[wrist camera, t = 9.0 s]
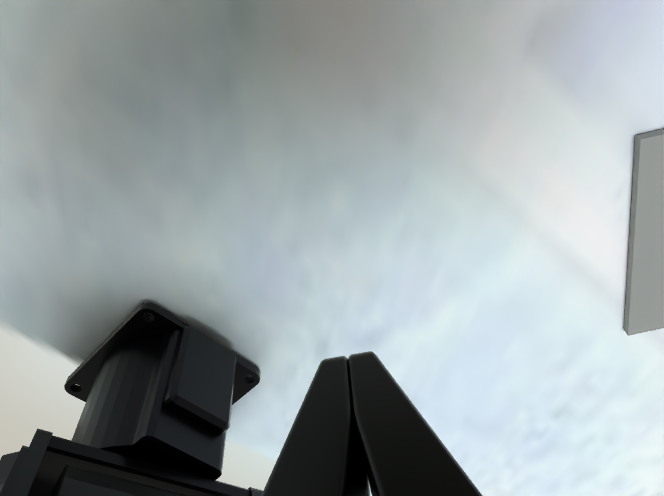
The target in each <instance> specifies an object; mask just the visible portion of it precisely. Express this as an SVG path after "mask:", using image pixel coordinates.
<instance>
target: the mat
mask: <svg viewBox="0 0 664 496" xmlns="http://www.w3.org/2000/svg"><path fill="white" fill-rule="evenodd" d="M661 328H664V129H661V130H656V131H652V132H648V133H644V134H640V135H635V151H634V168H633V185H632V201H631V218H630V235H629V252H628V269H627V286H626V303H625V320H624V331H625V332H626V333H627V335H633V334H638V333H642V332H647V331H652V330H656V329H661Z"/></svg>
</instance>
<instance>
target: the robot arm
mask: <svg viewBox="0 0 664 496" xmlns="http://www.w3.org/2000/svg"><path fill="white" fill-rule="evenodd" d="M144 313H150V314H152V315H153V316H147V315H145V314H144ZM247 375H250V376H252V377H247ZM259 381H260V371H259V369H258V368H257V367H255V366H254V365H252V364H251V363H249V362H247V361H246V360H244V359H243V358H241V357H239V356H238V355H236V354H235V353H233V352H232V351H230V350H228V349H227V348H225V347H224V346H222V345H220V344H219V343H217V342H216V341H214V340H212V339H211V338H209V337H208V336H206V335H204V334H203V333H201V332H200V331H198V330H196V329H195V328H193V327H191V326H190V325H188V324H187V323H185V322H183V321H182V320H180V319H179V318H177V317H175V316H174V315H172V314H171V313H169V312H167V311H166V310H164V309H163V308H161V307H159V306H158V305H156V304H154V303H148V302H147V303H143V304H141V305H140V306H139V307H138V308H137V309H136V310H135V311H134V312H133V313H132V314H131V315H130V316H129V317H128V318H127V319H126V320H125V321H124V322H123V323H122V324H121V325H120V326H119V327H118V328H117V329H116V330H115V331H114V332H113V333H112V334H111V335H110V336H109V337H108V338H107V339H106V340H105V341H104V342H103V343H102V344H101V345H100V346H99V347H98V348H97V349H96V350H95V351H94V352H93V353H92V354H91V355H90V356H89V357H88V358H87V359H86V360H85V361H84V362H83V363H82V364H81V365H80V366H79V367H78V368H77V369H76V370H75V371H74V372H73V373H72V374H71V375H70V376H69V377H68V379H67V381H66V384H65V390H66V392H68V393H69V394H71V395H73V396H75V397H77V398H78V399H80V400H83V401H85V402H86V404H85V407H84V409H83V412H82V415H81V417H80V420H79V422H78V425H77V428H76V431H75V433H74V436H73V438H72V441H70V440H67V439H63V438H59V437H56V436H52V433H51V432H48V431H44V430H41V429H37V431H36V433H35V435H34V437H33V439H32V442H31V444H30V446H29V447H27V446H22V448H21V450H20V451H19V452H15V453H11V454H7V455H3V456H2V457H1V460H0V496H370V489H371V493H372V496H482V495H481V493H480V492H479V491H478V489H477V488H476V487H475V485H474V484H473V483H472V481H471V480H470V479H469V477H468V476H467V475H466V473H465V472H464V471H463V469H462V468H461V467H460V465H459V464H458V463H457V461H456V460H455V459H454V458H453V456H452V455H451V454H450V452H449V451H448V450H447V448H446V447H445V446H444V444H443V443H442V442H441V440H440V439H439V438H438V436H437V435H436V434H435V432H434V431H433V430H432V428H431V427H430V426H429V424H428V423H427V422H426V420H425V419H424V418H423V417H422V415H421V414H420V413H419V411H418V410H417V409H416V407H415V406H414V405H413V403H412V402H411V401H410V399H409V398H408V397H407V395H406V394H405V393H404V391H403V390H402V389H401V387H400V386H399V385H398V383H397V382H396V381H395V380H394V378H393V377H392V376H391V374H390V373H389V372H388V370H387V369H386V368H385V366H384V365H383V364H382V362H381V361H380V360H379V358H378V357H377V356H376V355H375V354H374V353H373V352H364V353H358V354H352V355H350V356H349V358H348V359H347V358H346V357H345V356H340V357H334V358H329V359H324V360H323V361H321V363H320V365H319V367H318V369H317V372H316V374H315V376H314V378H313V381H312V383H311V385H310V387H309V390H308V392H307V394H306V396H305V399H304V401H303V403H302V405H301V408H300V410H299V412H298V414H297V417H296V419H295V421H294V423H293V426H292V428H291V430H290V432H289V435H288V437H287V439H286V441H285V444H284V446H283V448H282V450H281V453H280V455H279V457H278V459H277V462H276V464H275V466H274V468H273V471H272V473H271V475H270V477H269V480H268V482H267V484H266V486H265V489H264V491H262V490H258V489H254V488H251V487H250V488H248V489H245V488H241V487H238V486H234V485H230V484H227V483H223V482H219V481H216V479H217V478H219V477H220V476H221V474H222V465H223V456H224V447H225V438H226V430H228V428H229V426H230V416H231V407H232V405H233V404H234V403H235V402H237V401H238V400H239V399H240V398H241V397H243V396H244V395H245V394H246V393H247V392H249V391H250V390H251V389H252V388H254V387H255V386H256V385H257V384H258V383H259ZM75 384H77V385H75ZM78 385H80V386H78ZM369 485H370V488H369Z"/></svg>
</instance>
